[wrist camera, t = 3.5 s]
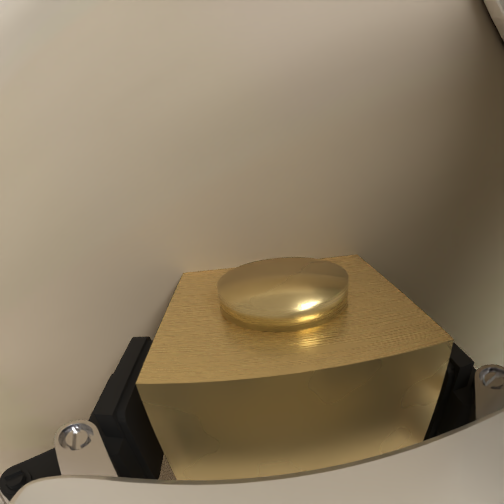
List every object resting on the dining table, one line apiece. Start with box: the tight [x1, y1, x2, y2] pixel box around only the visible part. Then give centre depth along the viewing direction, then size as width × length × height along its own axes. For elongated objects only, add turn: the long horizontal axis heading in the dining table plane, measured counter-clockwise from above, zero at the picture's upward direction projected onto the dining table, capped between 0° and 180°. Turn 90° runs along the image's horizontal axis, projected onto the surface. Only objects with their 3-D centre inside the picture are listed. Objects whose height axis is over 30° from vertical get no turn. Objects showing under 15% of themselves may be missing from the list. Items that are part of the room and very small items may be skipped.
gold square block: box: [136, 255, 454, 480], centre depth 9 cm, size 7×6×6 cm
